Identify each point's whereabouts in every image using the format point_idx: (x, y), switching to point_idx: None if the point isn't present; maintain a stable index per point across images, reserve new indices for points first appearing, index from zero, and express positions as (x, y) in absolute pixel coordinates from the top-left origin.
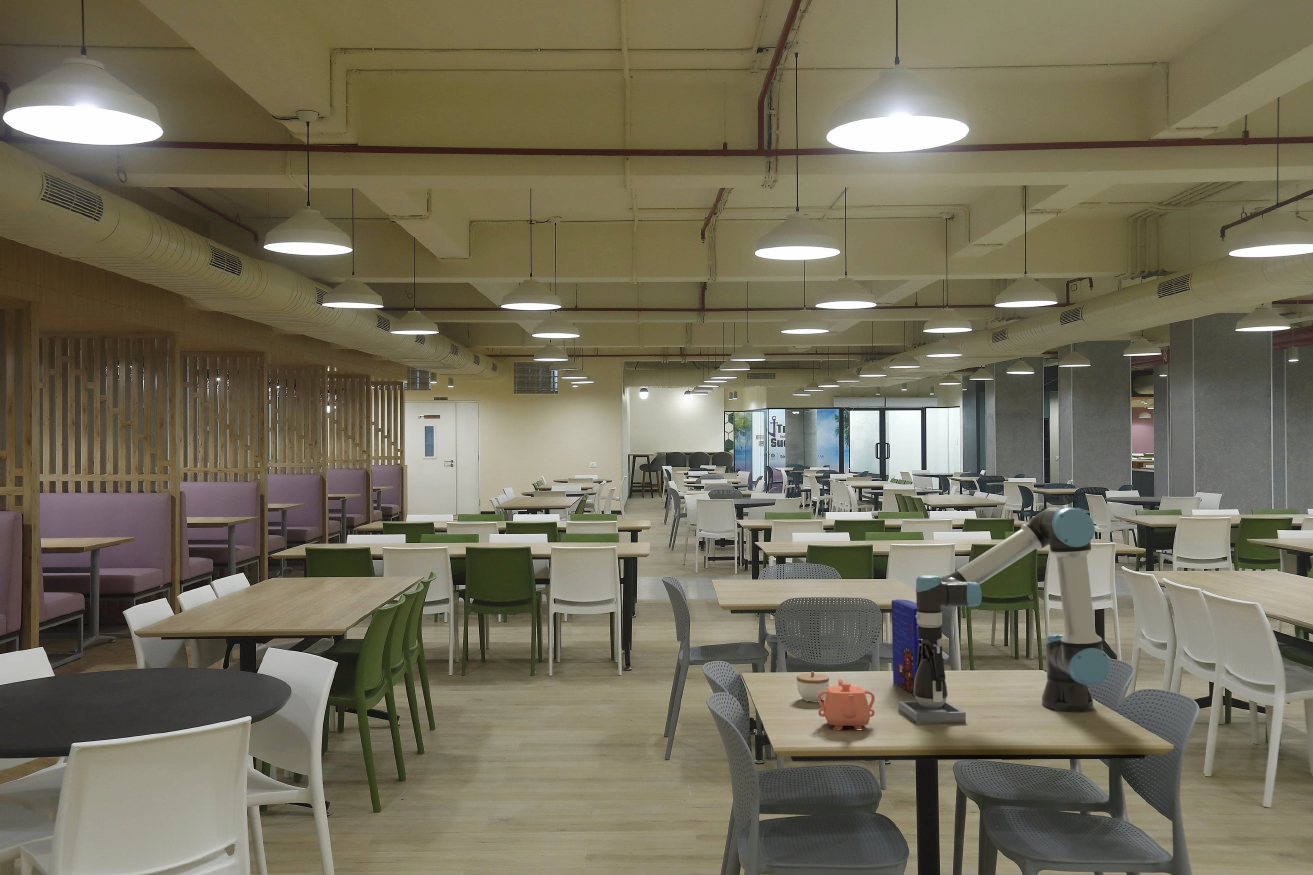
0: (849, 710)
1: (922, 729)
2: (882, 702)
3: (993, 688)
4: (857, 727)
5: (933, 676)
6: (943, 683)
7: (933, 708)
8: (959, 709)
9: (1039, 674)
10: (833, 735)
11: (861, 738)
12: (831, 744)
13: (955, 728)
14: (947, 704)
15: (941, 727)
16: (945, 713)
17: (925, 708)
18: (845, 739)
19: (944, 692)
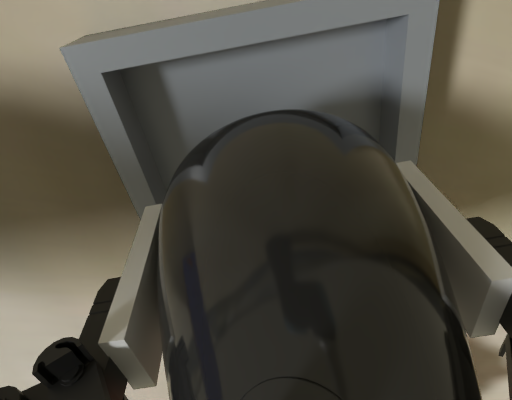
0: None
1: (464, 215)
2: (47, 296)
3: None
4: None
5: (510, 368)
6: (422, 219)
7: (142, 124)
8: (350, 2)
9: None
10: None
11: (489, 352)
12: (507, 390)
13: (502, 75)
14: (179, 56)
15: (462, 139)
16: (421, 124)
17: (156, 166)
18: (483, 374)
19: (397, 167)
